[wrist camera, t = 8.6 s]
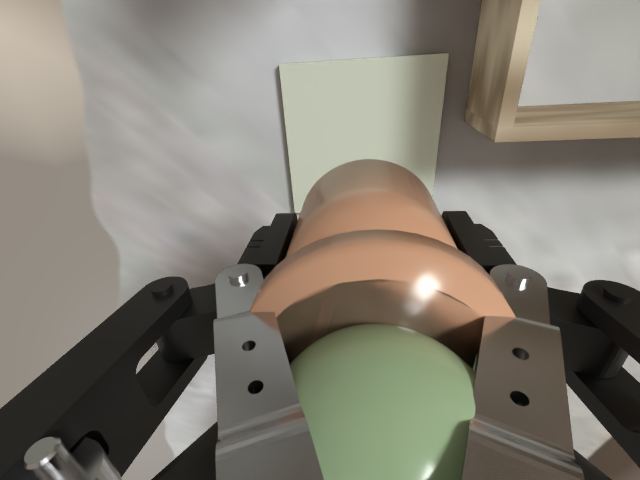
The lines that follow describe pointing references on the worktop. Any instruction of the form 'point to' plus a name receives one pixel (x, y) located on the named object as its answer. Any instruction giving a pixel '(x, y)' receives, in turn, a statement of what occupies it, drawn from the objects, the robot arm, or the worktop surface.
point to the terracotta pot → (380, 325)
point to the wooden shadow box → (507, 78)
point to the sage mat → (362, 115)
